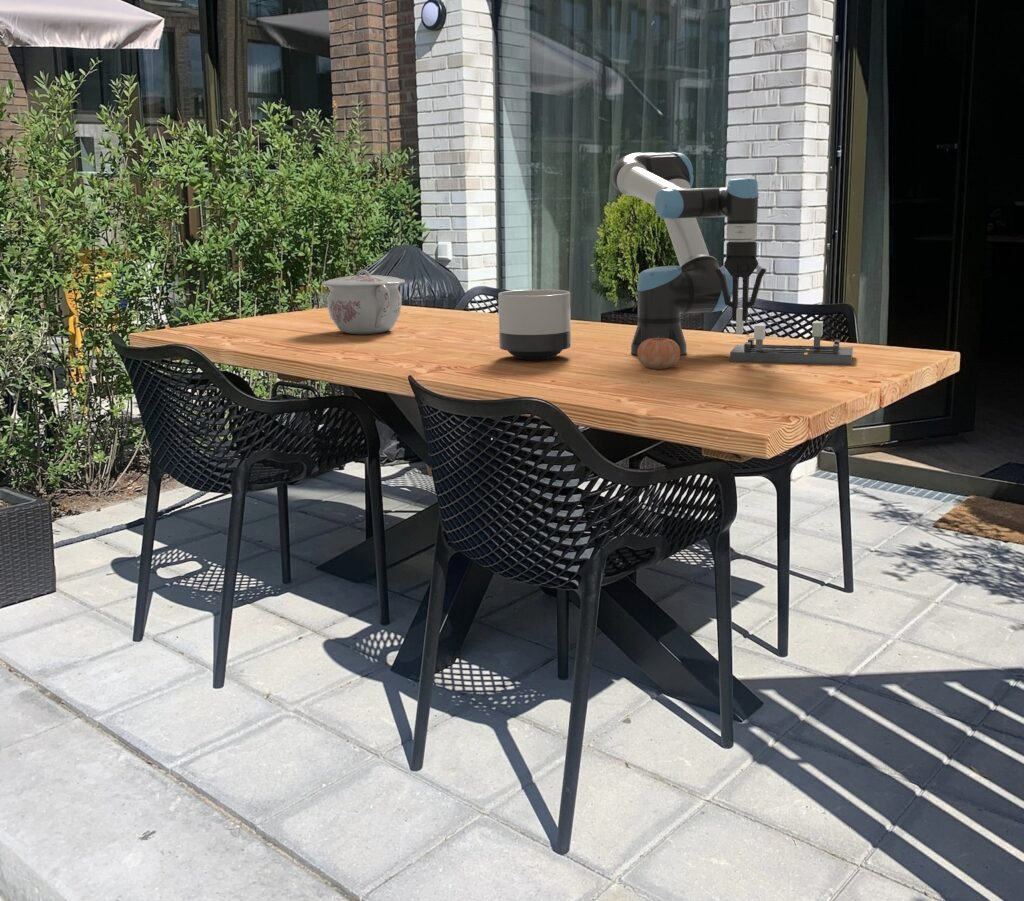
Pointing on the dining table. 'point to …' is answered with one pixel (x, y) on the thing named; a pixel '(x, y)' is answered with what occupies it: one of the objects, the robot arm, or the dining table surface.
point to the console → (792, 354)
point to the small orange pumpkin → (658, 353)
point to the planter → (534, 323)
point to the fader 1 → (759, 335)
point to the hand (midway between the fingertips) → (739, 333)
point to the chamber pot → (364, 302)
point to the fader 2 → (817, 332)
